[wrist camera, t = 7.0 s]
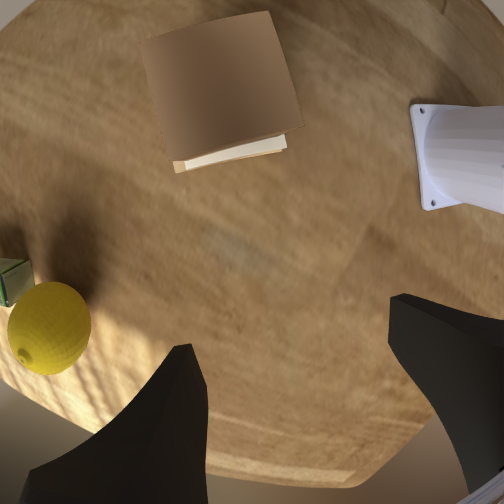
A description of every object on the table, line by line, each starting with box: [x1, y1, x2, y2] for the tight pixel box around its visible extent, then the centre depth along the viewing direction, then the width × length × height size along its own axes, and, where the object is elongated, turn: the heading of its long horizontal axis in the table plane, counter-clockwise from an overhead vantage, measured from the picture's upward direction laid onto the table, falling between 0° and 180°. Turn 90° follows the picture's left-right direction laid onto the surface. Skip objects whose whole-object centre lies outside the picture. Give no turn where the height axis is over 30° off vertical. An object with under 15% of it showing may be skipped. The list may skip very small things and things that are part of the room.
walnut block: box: [139, 11, 305, 161], centre depth 11 cm, size 4×4×5 cm
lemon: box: [7, 282, 91, 375], centre depth 16 cm, size 6×6×8 cm
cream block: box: [184, 134, 287, 170], centre depth 14 cm, size 5×5×2 cm
